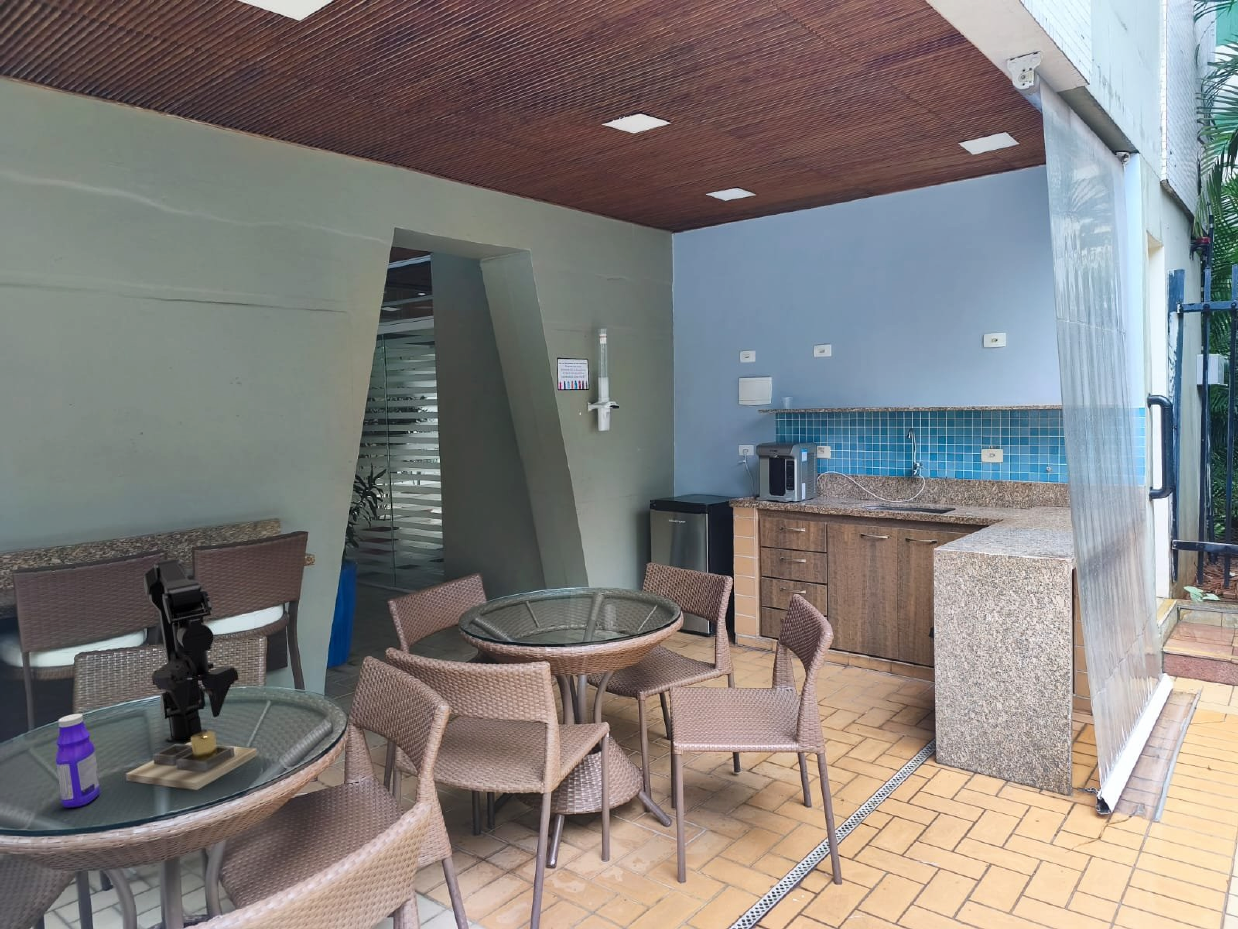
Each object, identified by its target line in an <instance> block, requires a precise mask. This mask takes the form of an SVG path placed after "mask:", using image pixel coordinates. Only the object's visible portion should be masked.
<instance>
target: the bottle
mask: <svg viewBox="0 0 1238 929" xmlns="http://www.w3.org/2000/svg"><path fill="white" fill-rule="evenodd" d="M58 727H59V734H58V737H57V739H56V745H57V746H58V750H57V752H56V758H55V763H56V767H57V768H56V770H57V777H58V782H59V790H60V791H59V792H60V798H61V799H60V800H61V804H62V806H63V807H65V808H66V807H67V808H70V807H71V808H77V807H78V806H79V807H82V805H83V806H86V805H87V804H89V803H90V802H92V801H93V800H95V799H96V798H97V797H98V795H99V794H100V789H101V786H100V779H99V774H98V766H97V759H96V758H97V756H96V751H95V749H96V748H95V746H94V743H93V742H92V740H90V737H91V733H90V732H89V731H88V730H87V728H86V726H85V723H84V716H83V714H82V713H73V714H69V715H66V716H62V717H60V718H59V719H58ZM71 808H70V809H71Z"/></svg>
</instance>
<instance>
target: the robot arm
mask: <svg viewBox="0 0 1238 929" xmlns="http://www.w3.org/2000/svg"><path fill="white" fill-rule="evenodd" d="M143 587H144V588H143V589H144V592H145V595H146V596H148V600H149V602H150V604H152V605H153V607H155V608H156V610H158V613H159V620H160V627H161V633H162V640H163V646H164V648H163V649H164V655H165V659H166V661H165V662H166V664H164V665H163V666H161V667H160V668H159V669H156V670H154V672H153V673H152V675H151V681H152V686H153V685H154V686H156V688H157V690H158V691H160V690H161V691H162V692H161V693H160V712H161V716H162V717H163V718H164V720H168V724H169V731H170V736H169V737H166V738H165V741H166V742H172V743H178V744H187V743H189V742H191V737H192V736H193V735H195V734H197V733H200V732H205V731H208V730H207V729H202V723H201V722H202V720H201V717H200V712H199V711H200V710H204V709H205V707H206V695H208V700H209V704H210V710H211V713H212V717H213V718H217V717H219V716H220V714H221V710H222V708H223V705H224V703H225V699H226V697H227V696H228V695H227V694H228V692H229V690H230V688H231V685H233V684H235V682H236V681H238V680H239V672H238V669H237V668H235V667H234V666H219V667H218V668H215V666H214V663H213V662H209V656H208V651H209V650H212V644H213V643H214V633H213V631H212V629H211V628H210V627H209V626H208V625H207V624H205V621H204V618H205V617H208V616H211V611H212V608H213V607H212V603H211V598H210V596H209V594H208V591H207V590H206V588H205V587H204V586H201V585H200V582H198V581H197V580H195V579H188V576H187V571H186V568H185V566H183V565H182V564H181V561H180V559H176V558H172V559H166V560H160V561H159V560H158V561H157V562H155V563H153V567H152V568H151V569H150V570H148V571H147V572H146V573H145V574H144V578H143ZM211 669H212V670H211ZM210 670H211V671H210ZM199 681H200V682H201V683H199Z"/></svg>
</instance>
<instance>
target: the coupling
mask: <svg viewBox="0 0 1238 929" xmlns="http://www.w3.org/2000/svg"><path fill="white" fill-rule="evenodd" d="M190 742H191V745H192V752H193V760H197V761H206V760H207V759H209V758H211V757H213V756H215V755H217V747H216V745H217V741H216V732H215V731H214V730H207V731H205V732H200V733H197V734H195V735H193V736H192V737H191V740H190Z"/></svg>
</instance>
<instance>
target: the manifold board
mask: <svg viewBox="0 0 1238 929" xmlns="http://www.w3.org/2000/svg"><path fill="white" fill-rule="evenodd" d="M216 747H217V755H215V756H213V757H211V758H209V759H207V760H206V761H197V760H193V752H192V745H191V741H188V742H186V743H175V744H173V745H170V746H169V747H167V748H165V749H162V750H160V751H158V752H156V753H154V754H152V758H153V760H151V761H148V762H146V763H144V764H143V765H141V766H139V767H137V768H134V769H132V770H131V771H129V772H127V773H125V778H126V782H134V783H141V784H147V785H148V784H149V785H155V786H164V787H173V788H180V789H187V790H193V791H198V790H199V789H201V788H203V787H204V786H206V785H208V784H210V783H212V782H214V781H215V780H217V779H219V778H220V777H222V776H224V775H226V774H228V773H229V772H231V771H233V770H235V769H237V768H238V767H240V766H241V765H243V764H245V763H247V762H249V761H251V760H252V759H254V758H256V757H258V749H257V748H254V747H253V748H252V747H242V746H241V747H240V746H231V745H223V744H216Z"/></svg>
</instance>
